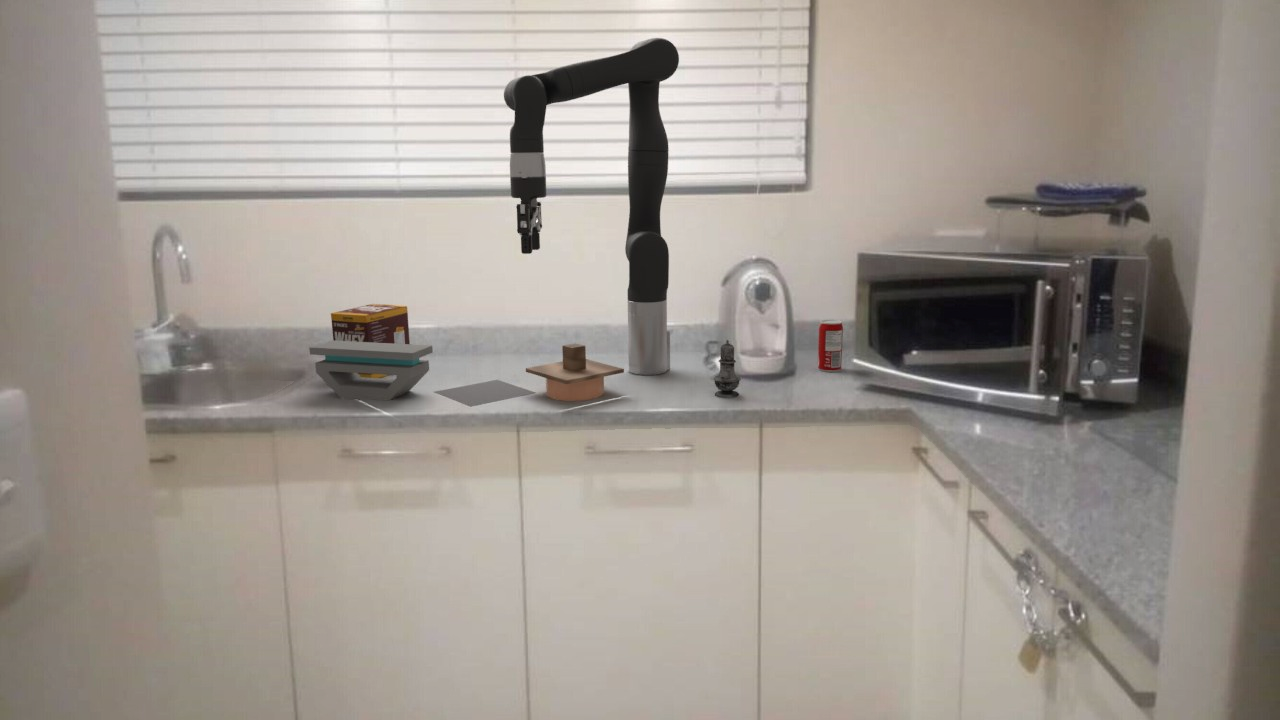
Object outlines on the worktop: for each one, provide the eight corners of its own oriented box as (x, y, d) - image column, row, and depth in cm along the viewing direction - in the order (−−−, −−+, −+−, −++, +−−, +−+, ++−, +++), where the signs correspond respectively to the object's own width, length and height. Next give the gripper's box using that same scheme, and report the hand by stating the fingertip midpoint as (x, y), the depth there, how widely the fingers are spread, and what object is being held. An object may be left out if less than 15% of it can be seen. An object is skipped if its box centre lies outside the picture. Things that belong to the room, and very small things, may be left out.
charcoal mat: (497, 381, 196) (497, 379, 196) (536, 394, 185) (536, 392, 185) (433, 393, 186) (433, 391, 186) (470, 408, 174) (470, 406, 174)
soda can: (825, 366, 208) (827, 317, 205) (845, 369, 204) (847, 319, 202) (813, 370, 204) (814, 320, 201) (833, 373, 200) (835, 323, 198)
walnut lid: (581, 361, 193) (581, 336, 192) (623, 372, 182) (623, 345, 181) (525, 371, 184) (524, 345, 182) (566, 384, 173) (565, 356, 171)
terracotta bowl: (580, 385, 192) (580, 363, 191) (614, 395, 183) (614, 372, 182) (536, 394, 185) (535, 371, 184) (568, 405, 176) (568, 381, 175)
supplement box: (335, 378, 202) (329, 312, 198) (378, 364, 216) (373, 303, 212) (370, 381, 198) (365, 315, 195) (412, 367, 212) (407, 305, 208)
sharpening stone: (314, 396, 185) (309, 347, 183) (336, 387, 193) (331, 340, 190) (416, 404, 178) (412, 353, 176) (435, 394, 186) (432, 345, 183)
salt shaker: (739, 398, 179) (740, 342, 177) (711, 397, 181) (711, 341, 178) (741, 391, 185) (742, 337, 182) (714, 390, 186) (715, 336, 184)
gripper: (517, 175, 189) (520, 248, 192) (502, 175, 175) (506, 255, 178) (551, 174, 188) (553, 248, 192) (539, 175, 174) (541, 254, 178)
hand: (530, 251), depth 185 cm, fingers open, 8 cm apart
